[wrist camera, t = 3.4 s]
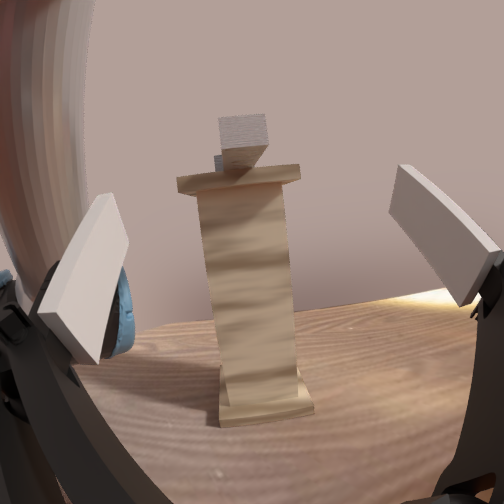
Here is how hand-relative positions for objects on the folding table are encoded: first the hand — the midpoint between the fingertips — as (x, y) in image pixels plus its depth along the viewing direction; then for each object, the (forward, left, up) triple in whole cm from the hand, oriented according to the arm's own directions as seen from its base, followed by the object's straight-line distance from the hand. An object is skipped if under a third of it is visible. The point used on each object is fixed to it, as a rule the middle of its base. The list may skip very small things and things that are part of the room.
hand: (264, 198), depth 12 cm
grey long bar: (-6, +15, +3) cm, 17 cm away
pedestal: (-8, +21, -27) cm, 35 cm away
